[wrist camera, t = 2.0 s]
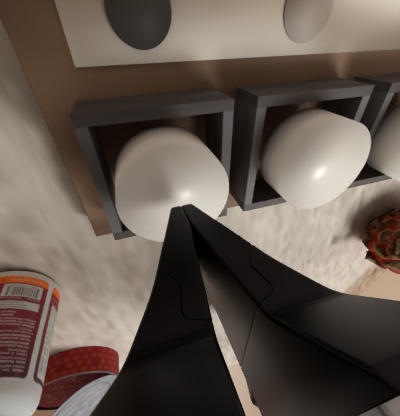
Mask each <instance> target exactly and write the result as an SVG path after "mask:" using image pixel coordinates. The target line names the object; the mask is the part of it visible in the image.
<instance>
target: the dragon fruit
mask: <svg viewBox="0 0 400 416" xmlns="http://www.w3.org/2000/svg"><path fill="white" fill-rule="evenodd" d="M367 229H368V232H366V233H365V234H364V235H363V240H362V242H363V243H364V245H365V246H366V247H367V248H368V249H369V250H368V251H367V254H366V257H365V258H366V259H368V260H370V261H371V262H373V263H375V264H376V265H378V266H379V267H381V268H384V269H387V268H388V269H389V270H391V271H392V272H394V273H398V274H400V208H396V209H393V210H392V211H391V212H390V213H389V214H388V216H381V217H379V218H377V219H375V220H374V221H372V222H371V223H369V224H368V226H367Z"/></svg>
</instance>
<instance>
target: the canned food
mask: <svg viewBox="0 0 400 416" xmlns="http://www.w3.org/2000/svg"><path fill="white" fill-rule="evenodd" d="M118 374H119V356H118V353H117V352H116V351H115V350H114V349H111V348H108V347H102V346H88V347H80V348H75V349H70V350H66V351H63V352H60V353H57V354H55V355H53V356H50V357H49V358H48V363H47V368H46V373H45V378H44V383H43V388H42V393H41V397H40V401H39V404H38V406H37V408H36V410H56V411H55V412H54V414H53V415H52V416H90V414H91V413H92V412H93V410H94V409H95V407H96V406H97V404H98V403H99V401H100V400H101V399H102V397H103V396H104V394H105V393H106V391H107V390H108V389H109V387H110V386H111V384H112V383H113V381H114V380H115V378H116V377H117V375H118Z"/></svg>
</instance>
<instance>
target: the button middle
mask: <svg viewBox="0 0 400 416" xmlns="http://www.w3.org/2000/svg"><path fill="white" fill-rule="evenodd" d="M370 147H371V136H370V133H369V131H368V129H367V128H366V126H365V125H363V124H362V123H360V122H357V121H354V120H351V119H348V118H346V117H343V116H340V115H337V114H334V113H332V112H329V111H326V110H323V109H321V108H306V109H303V110H300V111H298V112H296V113H294V114H292V115H290V116H289V117H287V118H286V119H285V120H284V121H282V122H281V123H280V124H279V125H278V126H277V128H276V129H275V130H274V131H273V132H272V134H271V135H270V137H269V138H268V140H267V142H266V144H265V146H264V149H263V152H262V155H261V161H260V168H261V173H262V176H263V178H264V180H265V181H266V182H267V183H268V184H269V185H270V186H271V187H272V188H273V189H274V190H275V191H276V192H277V193H278V194H280V195H281V196H282V197H283V198H284V199H285V200H286V201H287V202H288V203H289V204H290V205H291V206H293V207H295V208H298V209H312V208H316V207H319V206H321V205H324V204H326V203H328V202H329V201H331V200H333V199H334V198H336V197H337V196H338V195H340V194H341V193H342V192H343V191H344V190H345V189H347V188H348V187H349V186H350V184H351V183H352V182H353V181H354V180H355V179H356V177H357V176H358V175H359V173H360V172H361V170H362V168H363V167H364V165H365V163H366V161H367V158H368V155H369V152H370Z"/></svg>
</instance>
